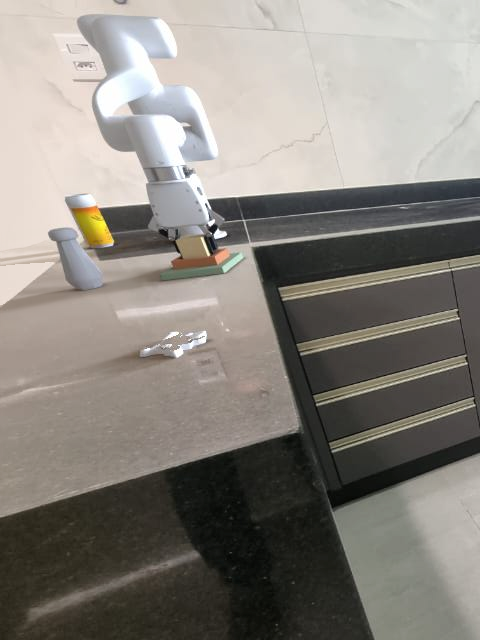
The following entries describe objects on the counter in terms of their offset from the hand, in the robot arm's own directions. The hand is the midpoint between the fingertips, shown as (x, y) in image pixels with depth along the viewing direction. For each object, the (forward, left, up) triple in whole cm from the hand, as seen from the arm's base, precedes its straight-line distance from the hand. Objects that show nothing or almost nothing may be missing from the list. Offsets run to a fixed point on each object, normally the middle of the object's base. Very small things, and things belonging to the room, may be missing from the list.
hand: (199, 253), depth 127 cm
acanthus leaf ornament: (+59, +13, -4) cm, 61 cm away
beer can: (-51, -41, -4) cm, 65 cm away
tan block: (0, 0, 0) cm, 0 cm away
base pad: (0, 0, -4) cm, 4 cm away
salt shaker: (+6, -20, -4) cm, 21 cm away
